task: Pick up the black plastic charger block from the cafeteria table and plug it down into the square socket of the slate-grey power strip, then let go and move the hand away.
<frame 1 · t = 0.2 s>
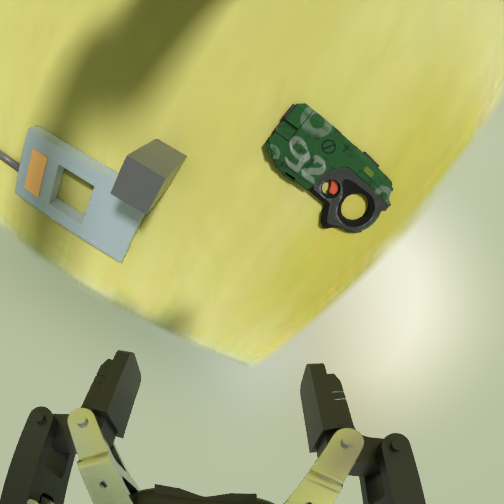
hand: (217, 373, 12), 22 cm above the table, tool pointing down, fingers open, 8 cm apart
charger: (163, 162, 28), on the table
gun: (326, 174, 30), on the table
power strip: (77, 189, 30), on the table
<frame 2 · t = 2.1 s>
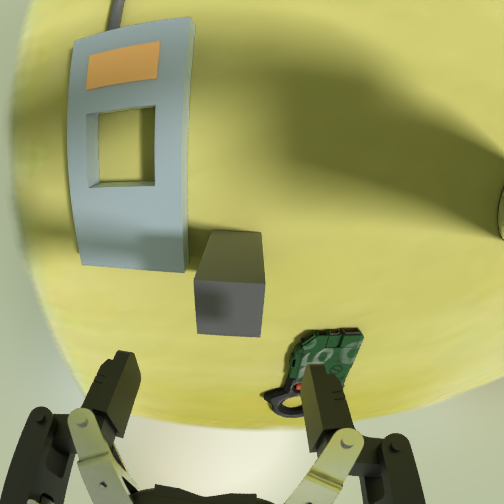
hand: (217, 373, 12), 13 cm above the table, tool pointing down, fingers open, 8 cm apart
charger: (235, 253, 23), on the table
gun: (307, 374, 31), on the table
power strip: (128, 145, 19), on the table
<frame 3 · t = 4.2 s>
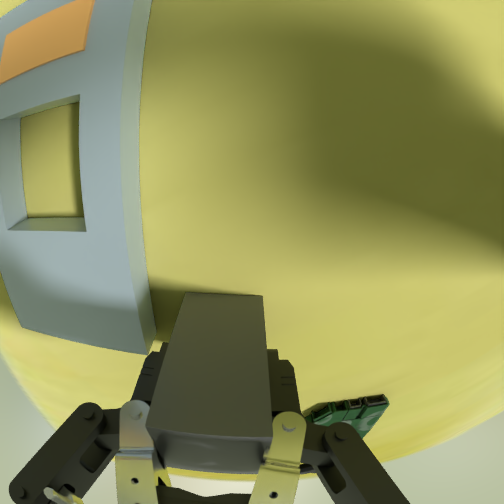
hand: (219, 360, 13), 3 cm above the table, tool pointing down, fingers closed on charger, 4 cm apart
charger: (223, 324, 15), on the table, touching gripper
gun: (316, 437, 23), on the table
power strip: (56, 162, 11), on the table
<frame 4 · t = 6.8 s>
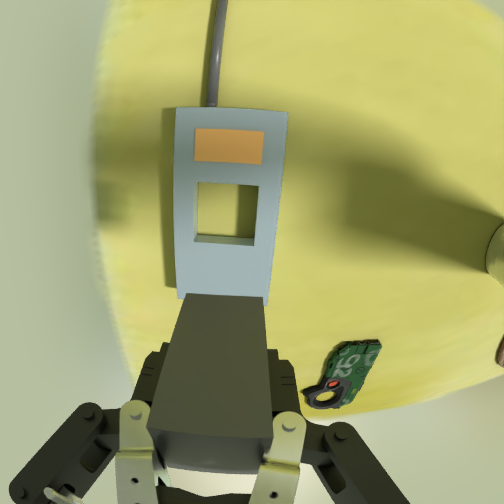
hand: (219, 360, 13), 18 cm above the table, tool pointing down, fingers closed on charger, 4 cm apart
charger: (224, 324, 15), point 15 cm above the table, touching gripper
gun: (337, 373, 39), on the table
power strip: (226, 208, 28), on the table
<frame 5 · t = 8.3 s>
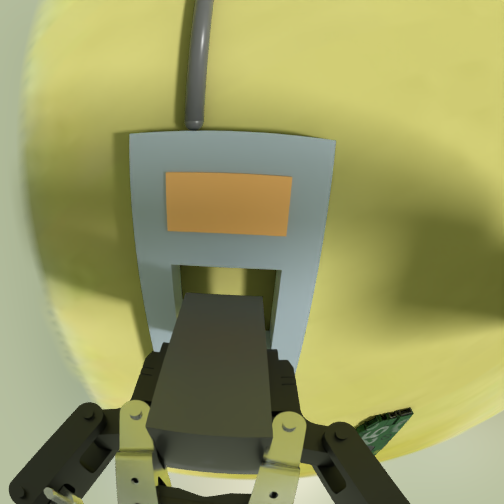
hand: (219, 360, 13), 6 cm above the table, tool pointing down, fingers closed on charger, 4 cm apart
charger: (223, 324, 15), point 3 cm above the table, touching gripper
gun: (359, 439, 29), on the table
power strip: (227, 293, 18), on the table
when the fingers open (3 cm above the table, at t = 9.5 s): charger stays where it is, resting in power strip.
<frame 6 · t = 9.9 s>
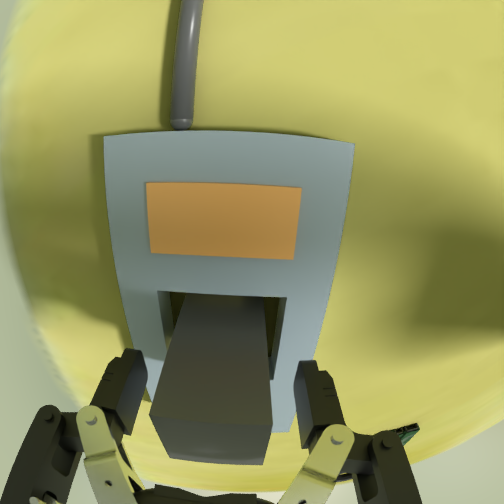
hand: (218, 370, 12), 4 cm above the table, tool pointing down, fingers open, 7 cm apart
charger: (225, 319, 16), resting in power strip
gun: (363, 453, 27), on the table
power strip: (223, 319, 15), on the table
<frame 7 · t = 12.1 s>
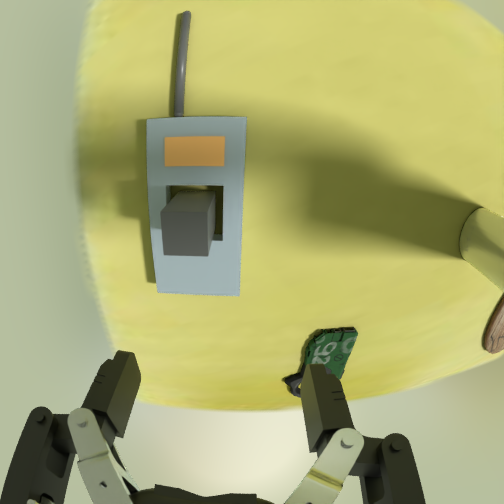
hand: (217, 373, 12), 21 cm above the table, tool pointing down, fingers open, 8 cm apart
charger: (197, 208, 30), resting in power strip
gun: (317, 362, 42), on the table
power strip: (197, 208, 30), on the table
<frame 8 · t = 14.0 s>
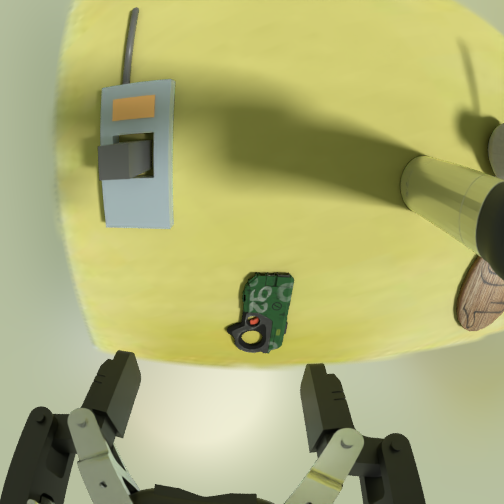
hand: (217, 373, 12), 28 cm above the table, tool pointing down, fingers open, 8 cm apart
charger: (138, 154, 34), resting in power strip
trivet: (491, 282, 45), on the table
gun: (258, 312, 45), on the table
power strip: (138, 154, 34), on the table
coffee pot: (500, 127, 30), on the table
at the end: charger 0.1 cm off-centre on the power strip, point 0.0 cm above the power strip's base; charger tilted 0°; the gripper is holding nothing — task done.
